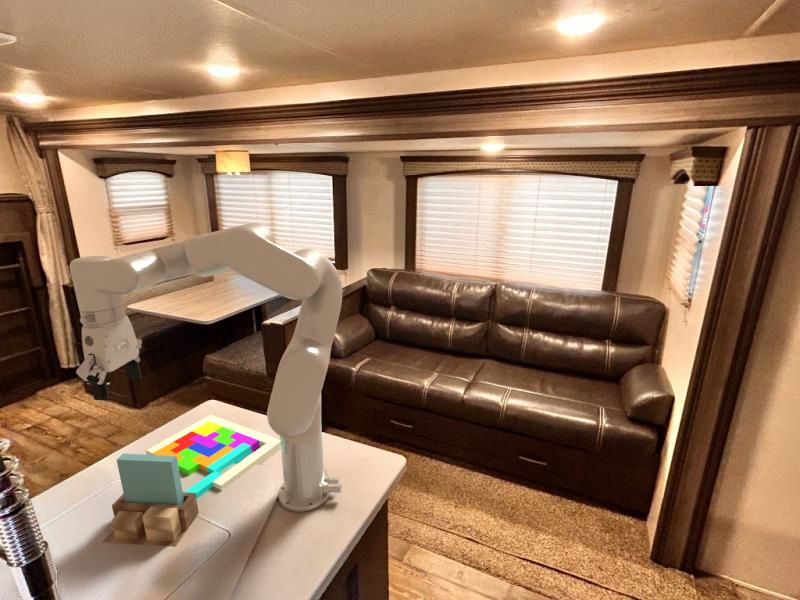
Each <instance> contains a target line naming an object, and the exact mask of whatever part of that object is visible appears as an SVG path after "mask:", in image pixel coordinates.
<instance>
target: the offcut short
mask: <svg viewBox="0 0 800 600" xmlns="http://www.w3.org/2000/svg"><path fill="white" fill-rule="evenodd" d="M142 516H143V512H129V511H120V512H119V513H118V514H117V515H116V516H115V517H114V516H113V518H112V519H111V525H112V531H113V530H114V535H115V538H126V539H138V538H139V537H140V536H141V535H142V534H143V532H144V531H145V527H144V522H143V517H142Z"/></svg>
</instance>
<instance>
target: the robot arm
mask: <svg viewBox="0 0 800 600" xmlns="http://www.w3.org/2000/svg"><path fill="white" fill-rule="evenodd" d="M69 270H70V275H71V279H72V284H73V287H74V293H75V297H76V301H77V305H78V309H79V314H80V318H79V322H80V323H81V324H82V327H81V342H82V343H81V344H82V351H83V357H84V360H83V361H82V363H81V364H80V365H79V367H78V368H77V369H76V371H75V373H76V374H77V375H78V377H79V378H80V379H81V381H82V382H85V383H86V385H90V388H91V393H92V397H93V400H94V401H107V402H108V401H109V400H110V399H111V395H110V392H109V387H108V382H106V381H105V379H106V376H107V373H111V372H114V371H115V370H117V369H120V368H121V367H123V366H124V370H125V376H126V379H127V380H141V379H142V378H143V377H142V372H141V367H140V361H141V358H140V356H141V353H142V349H141V348H142V344H143V343H142V342H143V341H142V339H139V338H137V337H136V333H135V330H134V328H133V325H132V322H131V321H130V318H129V317H128V315H127V314H126V313H125V308H124V302H123V299H122V296H123V295H125V296H127V295H128V296H129V295H134V294H136V293H139V292H142V291H143V290H145V289H147V288H149V287H152V286H154V285H156V284H159V283H163V282H166V281H169V280H173V279H177V278H178V279H179V278H182V277H187V276H193V275H194V276H195V275H196V276H198V277H200V278H208V277H212V276H216V275H220V274H224V273H229V272H233V271H234V272H235V273H236V274H238V275H241V276H242V277H243V278H244V277H245V278H246V279H247V280H250V281H252V282H254V283H255V284H258V285H260V286H262V287H263V288H266V289H268V290H269V291H272V292H274V293H276V294H278V295H280V296H281V297H284V298H287V299H290V300H294V301H295V300H296V301H302V302H301V305H300V309H299V312H298V316H297V317H298V318H297V322H296V325H295V328H294V332H293V335H292V337H291V340H290V342H289V343H288V345H287V347H286V348H285V351H284V353H283V355H282V356H281V359H280V362H279V364H278V366H277V367H278V368H277V370H276V374H275V379H274V382H273V383H274V384H273V386H272V391H271V395H270V398H269V403H268V407H267V412H266V418H267V423H268V425H269V428H271V431H273V432H274V433H275V434H276V435H277V436H279V437H280V439H279V440H281V450H280V451H281V462H282V463H281V464H282V473H283V474H282V475H283V483H282V485H280V488H279V489H278V494H277V495H278V496H277V497H278V502H279V503H280V505H281V506H282V507H283V508H284V509H287V510H288V511H291V512H308V511H310V510H314V509H317V508H318V507H320V506H322V505H323V504H324V503H325V502H326V501H327V500H328V499H329V498H330V496H331V494H332V493H337V494H339V493H340V494H341V493H342V487H343V484H342V483H339V482H340V478H339V477H330V476H328V470H325V468H324V454H323V453H324V451H323V450H324V449H323V431H322V390H323V387H324V383H325V381H326V376H327V373H328V368H329V365H330V360H331V353H332V352H331V351H332V345H333V342H334V337H335V334H336V332H337V326H338V323H339V318H340V313H341V311H342V310H341V309H342V302H343V284H342V282H341V277H340V274H339V272H338V270H337V268H336V267H335V265H334V264H333V262H332V261H331V260H330V259H329V258H328V257H327V256H326V255H324V254H323V253H322V252H320V251H318V250H316V249H313V248H302V249H299V250H297V251H295V252H291V251H289V250H287V249H285V248H284V247H281V246H280V245H278V244H276V238H275V236H274V233H272V231H271V230H270V229H269V228H268V227H267V226H266V225H263V224H261V223H257V222H253V223H251V222H250V223H244V224H242V225H237V226H232V227H228V228H225V229H222V230H221V229H220V230H216V231H212V232H208V233H204V234H199V235H195V236H191V237H188V238H186V239H185V240H182V241H180V242H175V243H172V244H167V245H162V246H159V247H155V248H150V249H145V250H141V251H137V252H135V253H134V252H133V253H130V254H127V255H124V256H120V257H118V258H116V257H115V258H111V257H110V256H107V255H92V256H83V257H77V258H74V259H73V260H71V261H70V264H69ZM97 373H98V376H97Z"/></svg>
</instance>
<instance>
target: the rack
mask: <svg viewBox="0 0 800 600" xmlns="http://www.w3.org/2000/svg"><path fill="white" fill-rule="evenodd" d="M183 497H184V503H183V504H182V505H167V504H147V503H127V502H125V498H124V493H122V494H121V496H119V497H118V498H117V499H116V500H115V501H114V502H113V504H112V505H111V507H112V513H113V518H114V517H115V516H116V515H117V514H118V513H119V512H120V511H129V512H143V515H144V514H145V512H146V511H147V510H148V509H149V508H150V507H164V508H178V514H179V520H180V525H181V533H180V534H179V535H178V537H177V538H176V540H175V541H162V540H147V537H146V532H145V531H144V532H143V534H142V535H141V536H140V537H139V538H138V539H126V538H115V535H114V530H113V529H112V531H110V533H109V534H108V535H107V536H106V537H105V538H104V539H103V540H102V541H101V543H109V544H125V545H144V546H158V547H159V546H161V547H177V545H178V544H179V543H180V541H181V540H182V538H183V537H184V535H185V534H186V533H187V531H188V530H189V528H190V526H191V525H192V524H193V522H194V521H195V520H196V518H197V517H198V515H199V507H198V498H197V499H196V493H187V492H185V491H183Z"/></svg>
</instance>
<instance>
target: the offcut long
mask: <svg viewBox="0 0 800 600" xmlns="http://www.w3.org/2000/svg"><path fill="white" fill-rule="evenodd" d="M142 517H143V522H144V527H145V532H146V537H147V540H162V541H175V540H176V538H177V537H178V535H179V534H180V533H181V525H180V520H179V514H178V508H164V507H150V508H149V509H148V510H147V511H146V512H145V514H144V515H143V516H142Z"/></svg>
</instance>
